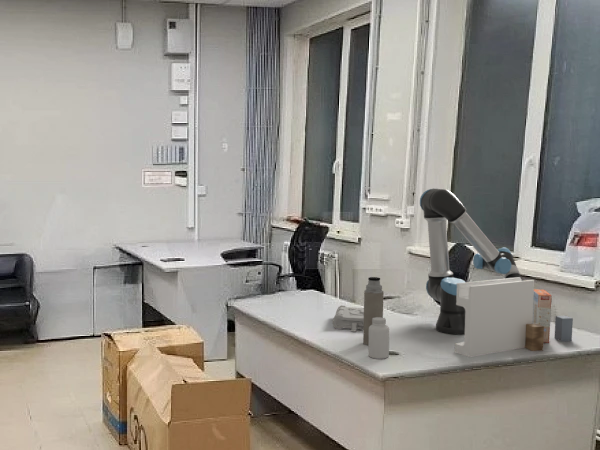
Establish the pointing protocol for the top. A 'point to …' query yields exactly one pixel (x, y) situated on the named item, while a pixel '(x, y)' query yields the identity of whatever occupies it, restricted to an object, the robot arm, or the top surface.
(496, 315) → the block
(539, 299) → the cracker box
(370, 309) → the thermos bottle
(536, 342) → the walnut block
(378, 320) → the pill bottle
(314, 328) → the top surface
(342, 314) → the gray tool case
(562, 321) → the slate block
